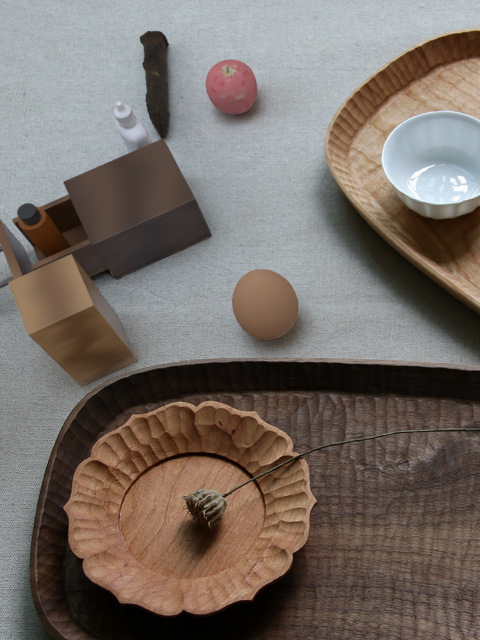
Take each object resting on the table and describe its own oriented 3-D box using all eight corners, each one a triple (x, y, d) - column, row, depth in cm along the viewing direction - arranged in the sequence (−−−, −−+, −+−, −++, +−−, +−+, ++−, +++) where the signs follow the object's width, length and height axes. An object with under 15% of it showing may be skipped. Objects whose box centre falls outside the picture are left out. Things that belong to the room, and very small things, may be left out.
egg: (232, 316, 109) (210, 271, 99) (286, 287, 111) (270, 241, 100) (259, 363, 106) (240, 322, 96) (315, 333, 108) (302, 290, 97)
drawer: (4, 322, 110) (-22, 297, 103) (-18, 265, 113) (-45, 237, 107) (131, 264, 112) (112, 236, 106) (105, 210, 116) (86, 180, 110)
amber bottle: (53, 271, 111) (17, 227, 101) (45, 252, 112) (8, 206, 103) (78, 260, 112) (44, 215, 102) (70, 241, 113) (35, 194, 103)
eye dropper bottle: (161, 144, 121) (133, 85, 110) (164, 174, 119) (136, 116, 108) (132, 150, 121) (101, 90, 110) (134, 179, 119) (103, 122, 108)
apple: (264, 86, 125) (253, 45, 117) (260, 124, 122) (248, 85, 114) (217, 87, 125) (203, 46, 118) (211, 125, 122) (196, 85, 115)
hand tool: (145, 50, 129) (135, 27, 124) (170, 47, 129) (161, 23, 124) (145, 145, 121) (134, 123, 117) (172, 142, 121) (162, 120, 117)
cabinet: (116, 280, 112) (91, 245, 104) (88, 219, 117) (62, 181, 109) (212, 236, 115) (195, 198, 107) (181, 177, 119) (163, 137, 111)
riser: (81, 387, 106) (28, 335, 92) (62, 339, 109) (7, 282, 95) (138, 360, 107) (93, 304, 94) (117, 314, 110) (71, 253, 96)
